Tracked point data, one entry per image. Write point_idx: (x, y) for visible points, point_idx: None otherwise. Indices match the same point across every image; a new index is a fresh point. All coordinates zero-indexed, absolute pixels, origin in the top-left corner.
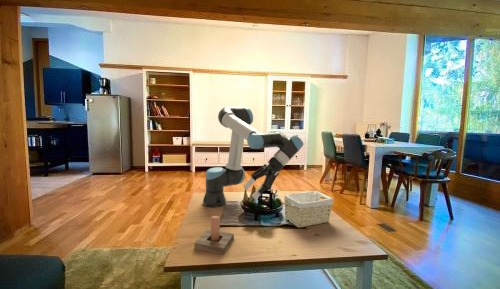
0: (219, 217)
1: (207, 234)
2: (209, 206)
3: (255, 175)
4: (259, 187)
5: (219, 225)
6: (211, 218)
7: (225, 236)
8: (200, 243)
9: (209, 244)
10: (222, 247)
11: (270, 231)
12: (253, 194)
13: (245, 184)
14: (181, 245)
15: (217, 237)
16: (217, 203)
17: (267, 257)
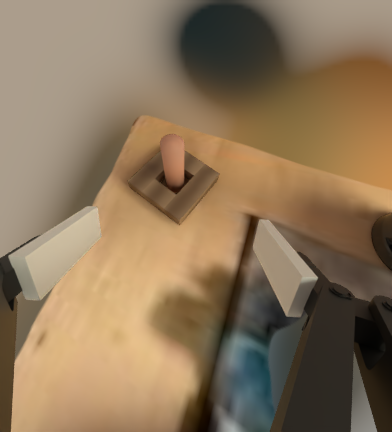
0: (167, 152)
1: (195, 168)
2: (375, 224)
3: (313, 319)
4: (43, 241)
5: (168, 167)
6: (170, 134)
7: (172, 198)
8: None
9: (153, 161)
10: (130, 179)
11: (183, 340)
12: (82, 210)
13: (269, 229)
14: (193, 136)
15: (165, 176)
16: (385, 243)
17: None
